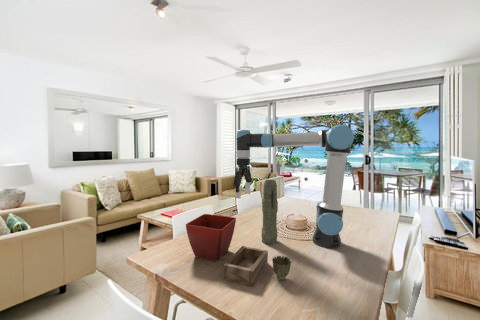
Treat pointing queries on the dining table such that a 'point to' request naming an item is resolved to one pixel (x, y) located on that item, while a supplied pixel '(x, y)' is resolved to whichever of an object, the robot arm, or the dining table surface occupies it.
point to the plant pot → (210, 235)
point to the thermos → (269, 212)
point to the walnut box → (246, 265)
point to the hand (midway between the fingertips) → (243, 195)
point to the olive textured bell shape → (281, 267)
